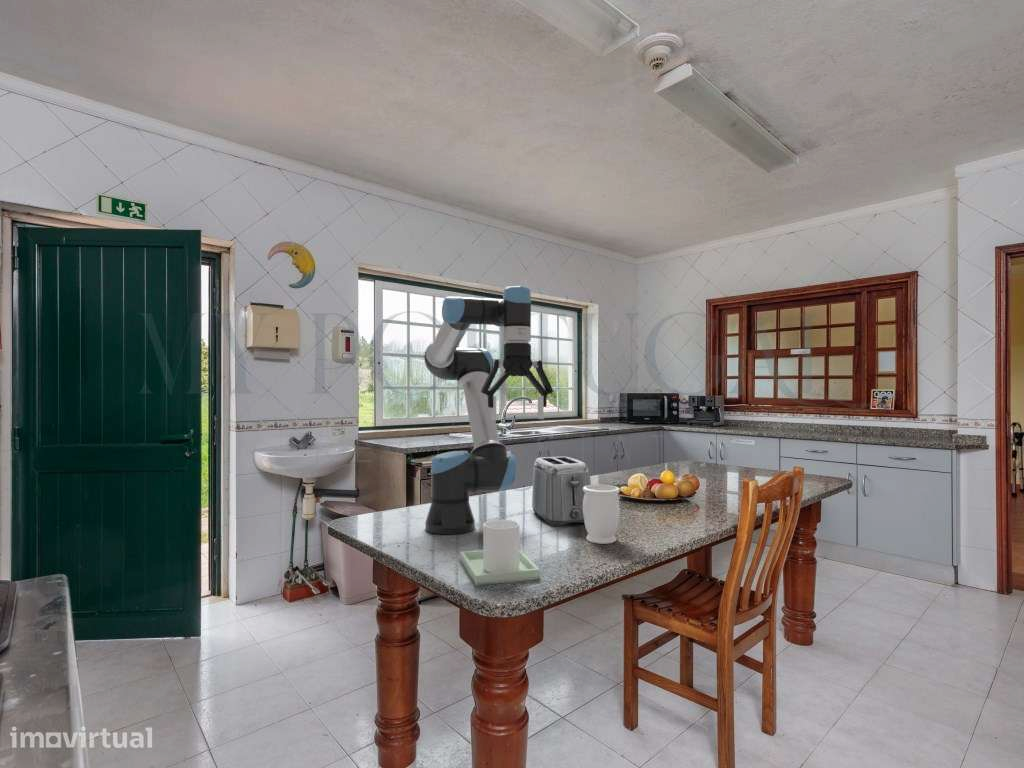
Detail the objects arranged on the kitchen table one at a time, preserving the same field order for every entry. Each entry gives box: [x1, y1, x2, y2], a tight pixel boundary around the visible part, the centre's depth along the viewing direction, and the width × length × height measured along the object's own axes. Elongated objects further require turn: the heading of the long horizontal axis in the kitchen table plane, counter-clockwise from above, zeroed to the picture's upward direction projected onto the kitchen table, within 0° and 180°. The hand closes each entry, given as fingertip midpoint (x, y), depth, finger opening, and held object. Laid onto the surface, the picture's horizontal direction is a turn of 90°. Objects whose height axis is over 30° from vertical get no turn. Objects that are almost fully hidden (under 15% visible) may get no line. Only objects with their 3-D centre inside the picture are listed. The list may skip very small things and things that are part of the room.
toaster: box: [531, 455, 592, 527], centre depth 182 cm, size 17×30×19 cm, turn 14°
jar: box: [583, 484, 621, 545], centre depth 155 cm, size 11×10×15 cm
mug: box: [482, 519, 520, 573], centre depth 130 cm, size 9×12×11 cm
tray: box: [459, 548, 541, 587], centre depth 130 cm, size 18×15×2 cm
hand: (517, 419), depth 151 cm, fingers open, 13 cm apart
